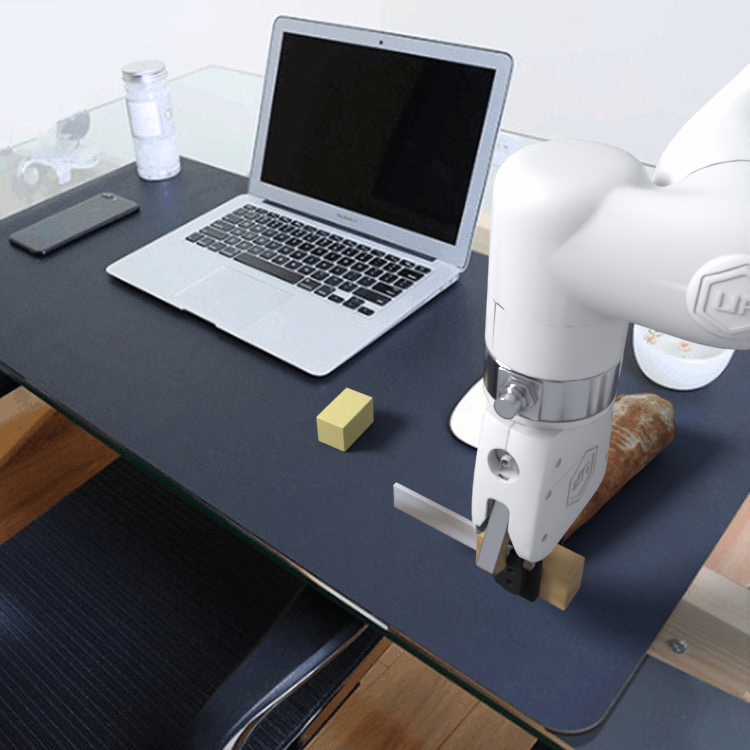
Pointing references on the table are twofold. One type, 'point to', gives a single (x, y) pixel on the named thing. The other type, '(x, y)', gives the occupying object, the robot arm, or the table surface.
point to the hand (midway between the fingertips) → (527, 573)
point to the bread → (631, 445)
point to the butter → (345, 419)
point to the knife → (558, 565)
